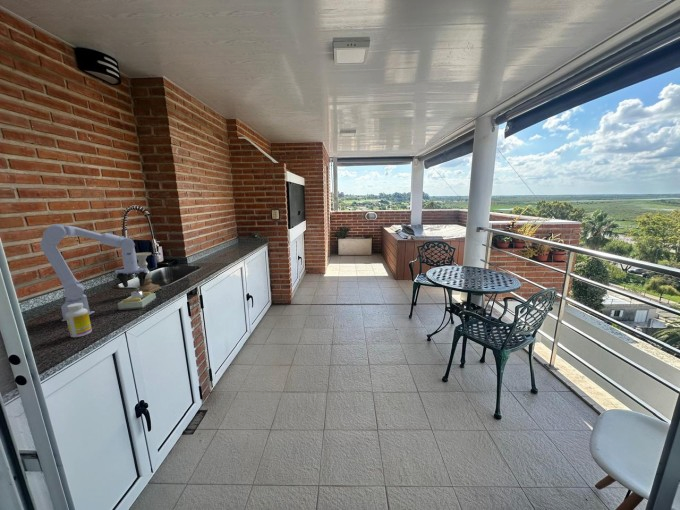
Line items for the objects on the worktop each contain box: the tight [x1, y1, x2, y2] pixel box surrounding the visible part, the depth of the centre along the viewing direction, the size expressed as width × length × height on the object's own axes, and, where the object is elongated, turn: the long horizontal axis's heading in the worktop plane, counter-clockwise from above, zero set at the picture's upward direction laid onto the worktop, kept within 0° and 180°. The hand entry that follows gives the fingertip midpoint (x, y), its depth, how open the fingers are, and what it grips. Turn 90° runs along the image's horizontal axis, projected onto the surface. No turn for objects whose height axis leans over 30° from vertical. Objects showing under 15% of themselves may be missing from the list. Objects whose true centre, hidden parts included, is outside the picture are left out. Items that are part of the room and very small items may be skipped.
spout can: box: [130, 287, 144, 300], centre depth 145 cm, size 5×5×8 cm
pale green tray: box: [117, 292, 157, 311], centre depth 145 cm, size 14×11×5 cm
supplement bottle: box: [66, 303, 93, 338], centre depth 111 cm, size 7×7×13 cm
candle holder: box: [132, 251, 162, 293], centre depth 163 cm, size 11×11×24 cm
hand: (134, 286), depth 144 cm, fingers open, 7 cm apart
